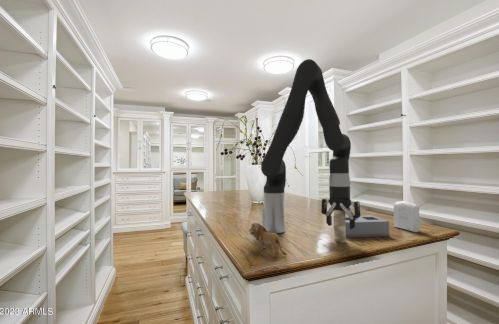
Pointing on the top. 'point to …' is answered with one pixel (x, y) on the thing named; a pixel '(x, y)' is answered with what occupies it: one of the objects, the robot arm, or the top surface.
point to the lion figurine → (265, 238)
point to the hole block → (367, 227)
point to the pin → (339, 226)
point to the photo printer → (406, 216)
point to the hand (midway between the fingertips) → (340, 227)
